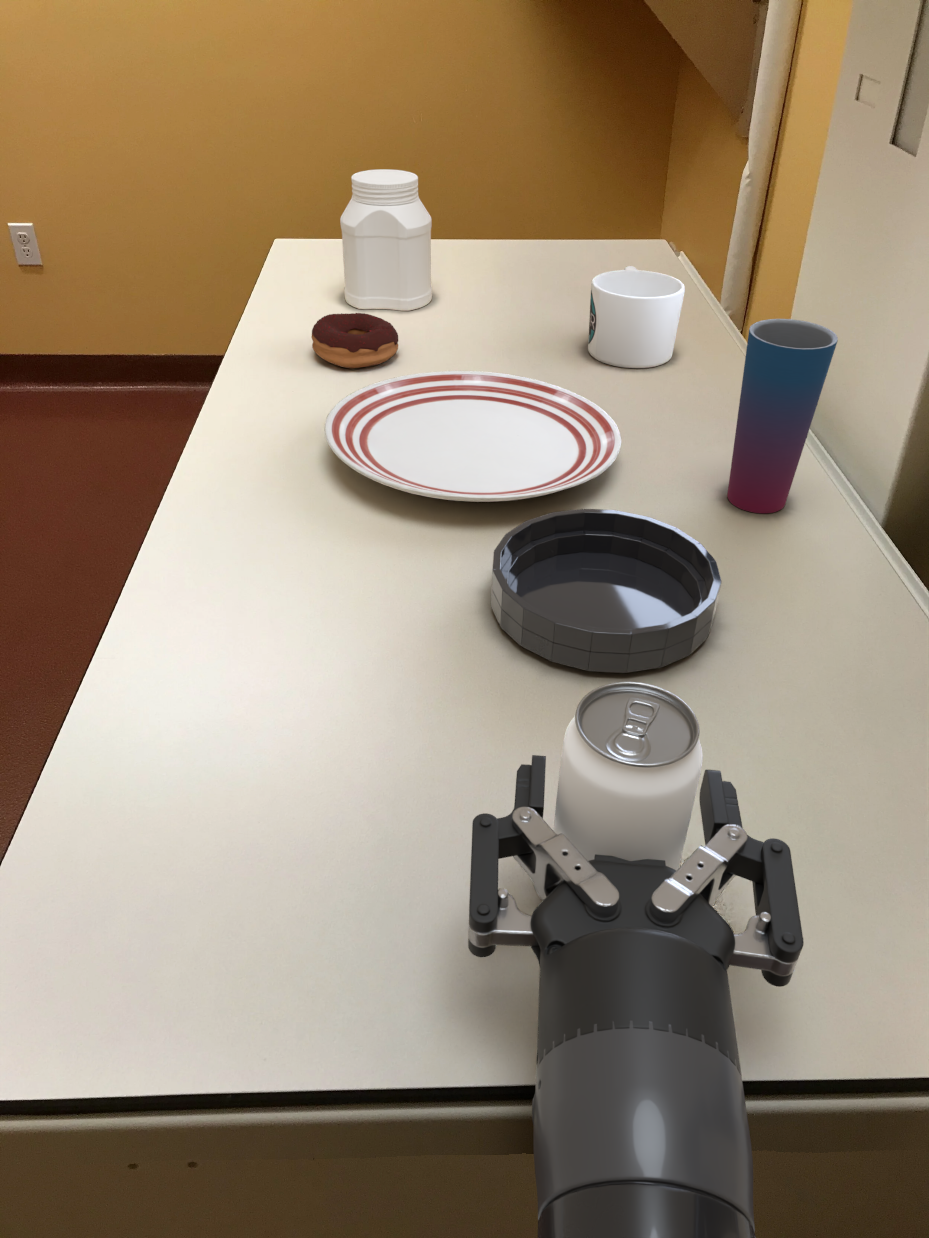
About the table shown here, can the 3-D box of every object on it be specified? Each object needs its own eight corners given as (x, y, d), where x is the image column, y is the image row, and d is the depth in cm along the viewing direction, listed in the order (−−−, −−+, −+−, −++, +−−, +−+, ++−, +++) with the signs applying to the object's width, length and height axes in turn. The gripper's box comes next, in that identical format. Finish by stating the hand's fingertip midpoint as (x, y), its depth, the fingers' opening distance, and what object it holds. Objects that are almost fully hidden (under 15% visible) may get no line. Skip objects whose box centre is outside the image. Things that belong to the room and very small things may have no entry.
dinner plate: (530, 380, 106) (532, 350, 104) (676, 490, 86) (682, 457, 84) (289, 422, 96) (286, 391, 94) (392, 558, 76) (391, 522, 74)
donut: (406, 368, 108) (405, 334, 105) (318, 375, 106) (315, 340, 103) (390, 337, 116) (389, 304, 113) (308, 343, 114) (305, 309, 111)
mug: (681, 371, 108) (692, 299, 104) (588, 369, 108) (595, 297, 104) (664, 329, 119) (673, 263, 114) (579, 327, 119) (585, 261, 115)
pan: (615, 530, 80) (620, 490, 78) (758, 630, 69) (769, 587, 67) (450, 587, 73) (450, 544, 71) (581, 708, 62) (586, 662, 60)
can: (531, 917, 49) (547, 748, 42) (567, 827, 54) (587, 662, 47) (655, 959, 47) (694, 789, 40) (681, 862, 52) (720, 695, 45)
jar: (339, 308, 123) (331, 183, 115) (351, 285, 131) (344, 166, 122) (428, 312, 123) (427, 187, 114) (434, 288, 131) (434, 169, 122)
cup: (704, 503, 84) (736, 336, 75) (734, 474, 89) (767, 312, 80) (779, 527, 81) (821, 355, 72) (806, 495, 86) (849, 330, 77)
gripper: (864, 1058, 32) (783, 730, 45) (445, 1016, 33) (483, 706, 46) (812, 1162, 37) (752, 836, 50) (444, 1122, 38) (479, 812, 51)
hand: (622, 774), depth 48 cm, fingers open, 8 cm apart
